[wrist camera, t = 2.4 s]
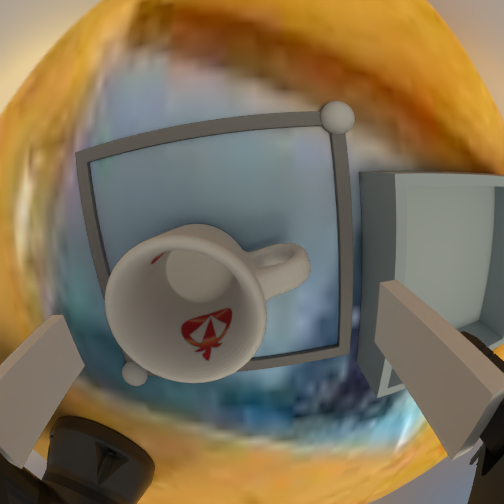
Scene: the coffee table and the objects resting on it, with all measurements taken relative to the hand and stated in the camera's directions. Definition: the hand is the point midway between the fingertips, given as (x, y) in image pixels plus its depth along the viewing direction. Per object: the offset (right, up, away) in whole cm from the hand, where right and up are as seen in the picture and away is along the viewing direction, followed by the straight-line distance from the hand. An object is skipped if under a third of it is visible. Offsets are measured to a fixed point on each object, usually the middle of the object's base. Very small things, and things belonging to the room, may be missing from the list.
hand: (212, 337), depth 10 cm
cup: (-1, +3, +10) cm, 10 cm away
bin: (+18, +2, +11) cm, 22 cm away
